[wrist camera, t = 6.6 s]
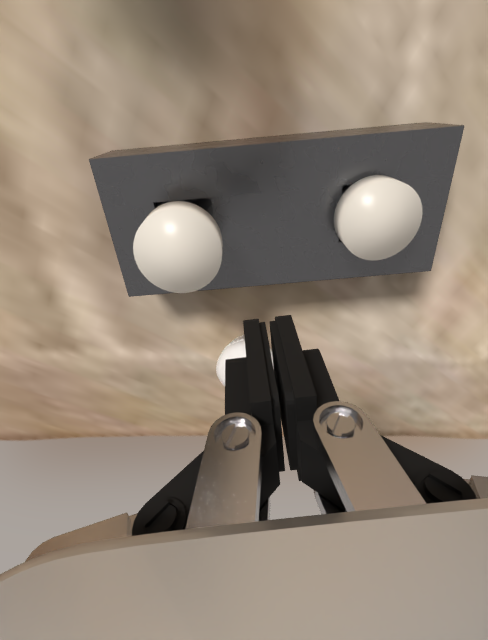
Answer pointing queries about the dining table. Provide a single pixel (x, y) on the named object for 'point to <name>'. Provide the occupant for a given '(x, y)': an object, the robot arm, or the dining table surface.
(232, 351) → the white ribbed round lump
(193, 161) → the mount
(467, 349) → the dining table surface
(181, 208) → the knob
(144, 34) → the dining table surface
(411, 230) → the knob
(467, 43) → the dining table surface
